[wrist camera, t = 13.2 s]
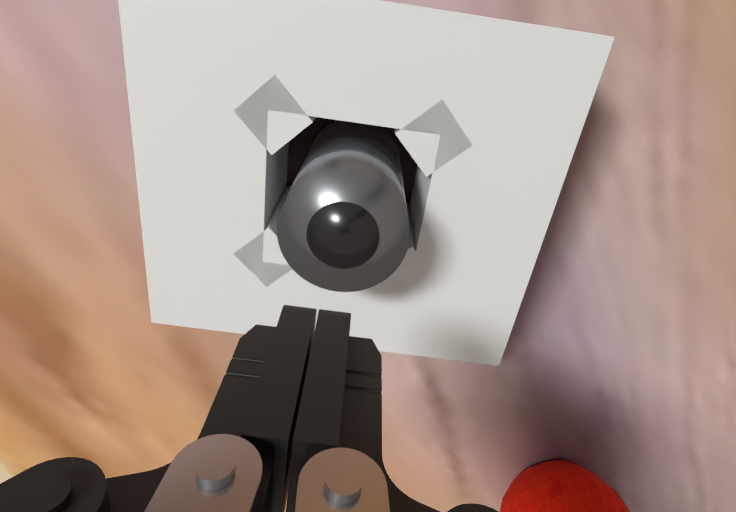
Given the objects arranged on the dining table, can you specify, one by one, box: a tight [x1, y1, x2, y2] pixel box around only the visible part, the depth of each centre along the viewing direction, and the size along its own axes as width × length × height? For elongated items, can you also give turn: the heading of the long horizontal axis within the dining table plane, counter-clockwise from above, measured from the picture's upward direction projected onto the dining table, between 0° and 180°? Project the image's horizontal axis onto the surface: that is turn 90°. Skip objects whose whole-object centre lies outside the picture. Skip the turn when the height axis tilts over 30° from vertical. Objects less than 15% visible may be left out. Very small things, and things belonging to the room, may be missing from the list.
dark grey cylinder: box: [277, 120, 410, 292], centre depth 19 cm, size 4×4×8 cm
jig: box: [118, 0, 615, 366], centre depth 20 cm, size 16×14×5 cm
